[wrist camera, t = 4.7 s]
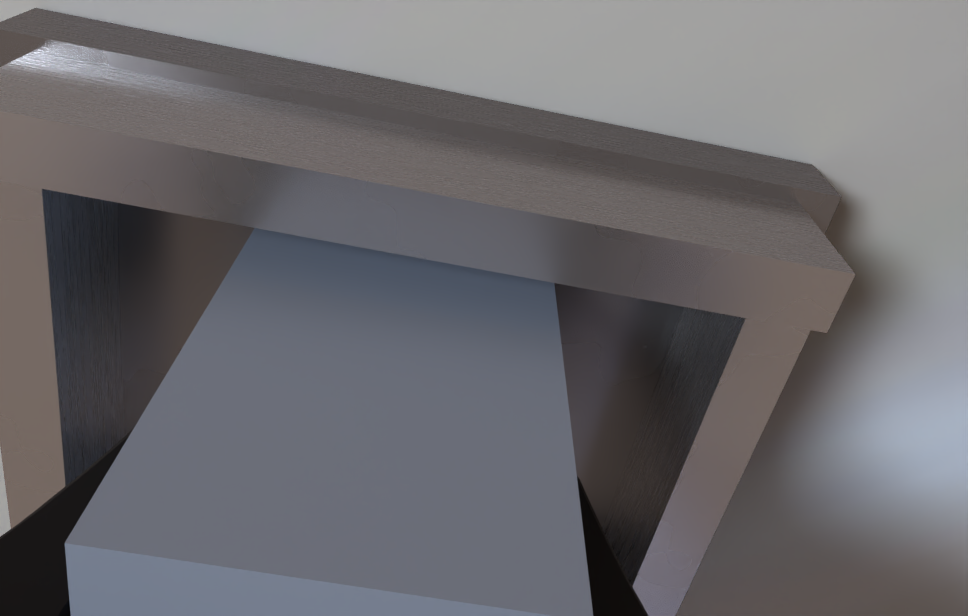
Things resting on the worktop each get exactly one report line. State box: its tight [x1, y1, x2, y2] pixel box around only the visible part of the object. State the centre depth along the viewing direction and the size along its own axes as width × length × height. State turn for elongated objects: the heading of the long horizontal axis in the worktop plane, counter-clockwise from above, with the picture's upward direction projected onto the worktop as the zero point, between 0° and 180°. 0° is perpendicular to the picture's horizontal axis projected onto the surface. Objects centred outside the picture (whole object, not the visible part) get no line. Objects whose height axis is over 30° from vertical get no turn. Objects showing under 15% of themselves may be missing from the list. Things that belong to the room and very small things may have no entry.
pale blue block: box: [65, 228, 593, 616], centre depth 10 cm, size 5×4×6 cm
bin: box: [0, 8, 856, 616], centre depth 14 cm, size 17×11×4 cm, turn 169°
